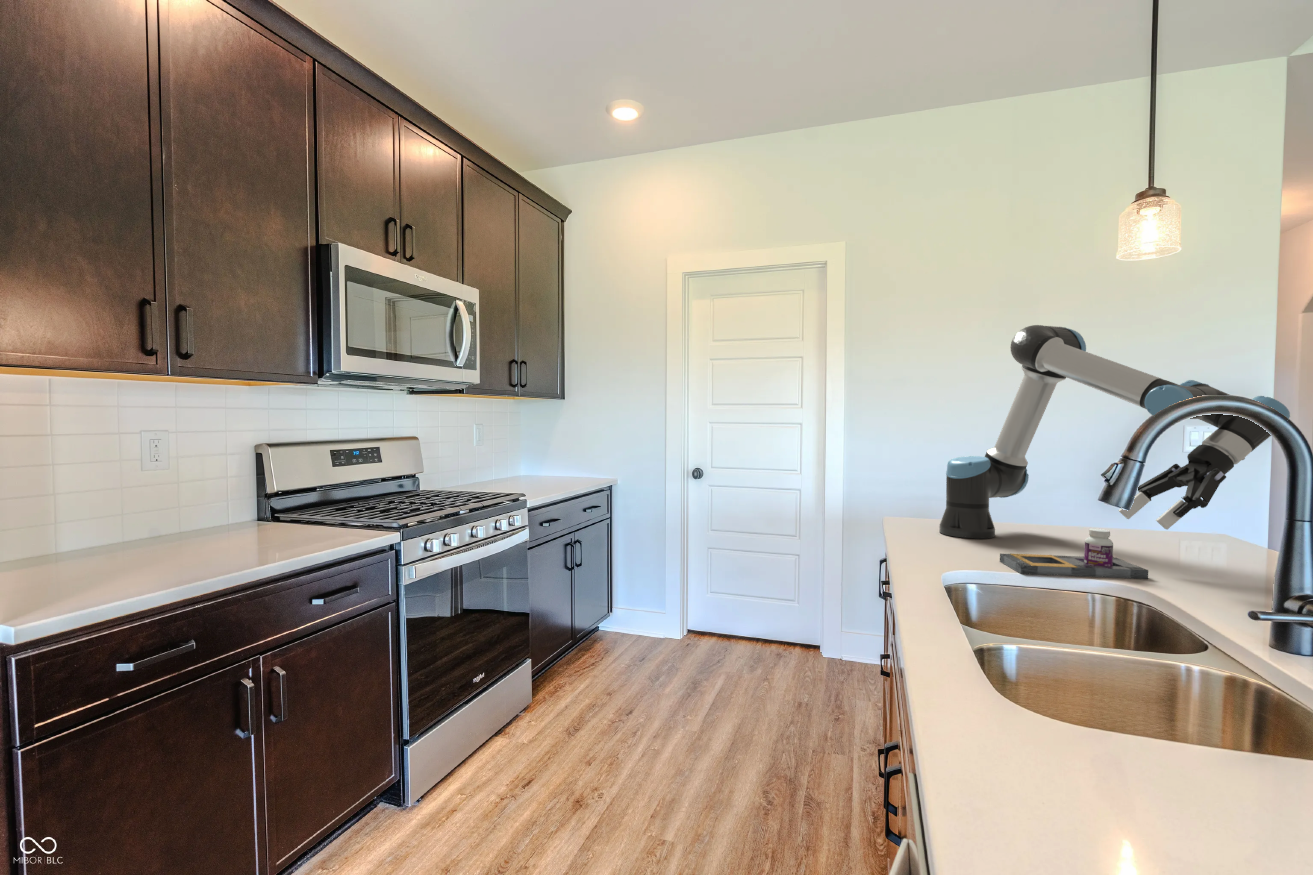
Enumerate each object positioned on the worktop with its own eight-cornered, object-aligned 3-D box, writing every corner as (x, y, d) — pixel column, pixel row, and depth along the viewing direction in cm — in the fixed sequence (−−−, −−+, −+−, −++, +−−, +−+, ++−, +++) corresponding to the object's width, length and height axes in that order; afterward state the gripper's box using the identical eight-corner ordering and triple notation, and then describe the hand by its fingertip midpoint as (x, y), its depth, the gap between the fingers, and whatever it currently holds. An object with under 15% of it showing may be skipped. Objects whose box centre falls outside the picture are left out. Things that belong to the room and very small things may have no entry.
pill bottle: (1087, 572, 140) (1088, 530, 139) (1081, 567, 145) (1082, 527, 144) (1115, 574, 138) (1117, 532, 137) (1108, 569, 143) (1109, 528, 142)
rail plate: (999, 561, 150) (999, 553, 150) (1116, 565, 146) (1116, 557, 146) (1020, 573, 138) (1021, 564, 138) (1148, 579, 134) (1148, 569, 134)
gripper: (1278, 471, 123) (1193, 542, 126) (1190, 462, 148) (1121, 522, 151) (1249, 445, 124) (1165, 516, 127) (1166, 440, 149) (1098, 500, 151)
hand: (1141, 519), depth 139 cm, fingers open, 13 cm apart
